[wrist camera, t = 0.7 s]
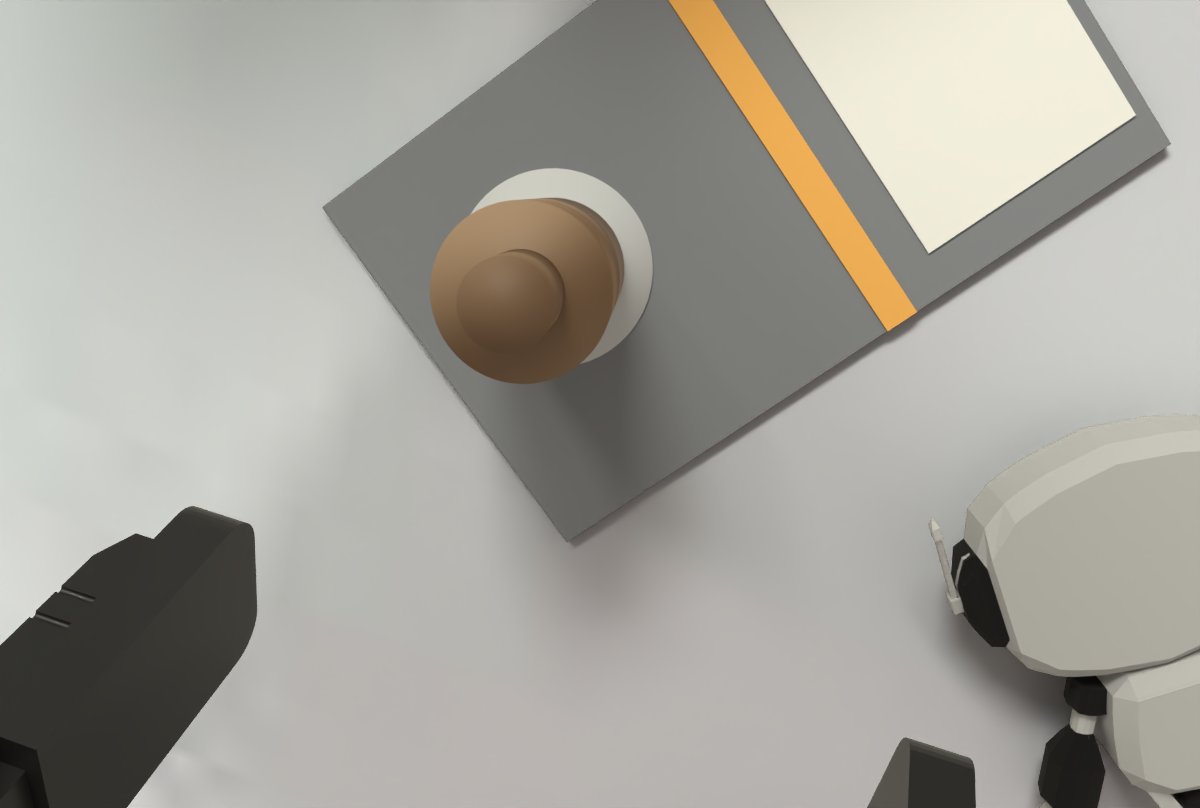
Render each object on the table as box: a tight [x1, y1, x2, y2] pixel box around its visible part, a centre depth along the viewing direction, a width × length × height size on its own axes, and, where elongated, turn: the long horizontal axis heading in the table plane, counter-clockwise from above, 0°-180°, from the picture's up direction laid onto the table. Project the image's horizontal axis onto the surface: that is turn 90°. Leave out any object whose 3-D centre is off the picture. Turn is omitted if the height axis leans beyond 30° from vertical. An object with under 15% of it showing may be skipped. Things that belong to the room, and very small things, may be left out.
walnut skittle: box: [430, 198, 624, 384], centre depth 32 cm, size 5×5×12 cm
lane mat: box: [322, 0, 1171, 542], centre depth 37 cm, size 15×25×1 cm, turn 125°
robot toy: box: [929, 414, 1200, 808], centre depth 38 cm, size 12×4×15 cm
